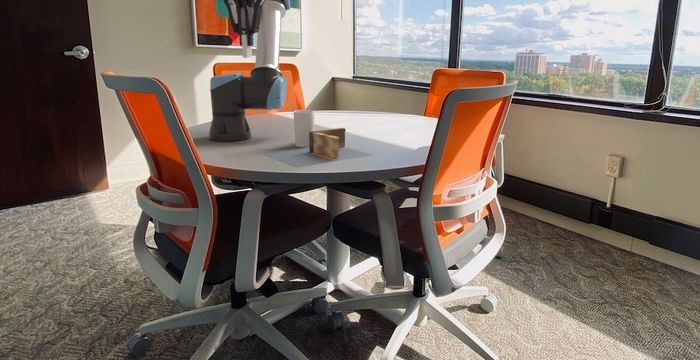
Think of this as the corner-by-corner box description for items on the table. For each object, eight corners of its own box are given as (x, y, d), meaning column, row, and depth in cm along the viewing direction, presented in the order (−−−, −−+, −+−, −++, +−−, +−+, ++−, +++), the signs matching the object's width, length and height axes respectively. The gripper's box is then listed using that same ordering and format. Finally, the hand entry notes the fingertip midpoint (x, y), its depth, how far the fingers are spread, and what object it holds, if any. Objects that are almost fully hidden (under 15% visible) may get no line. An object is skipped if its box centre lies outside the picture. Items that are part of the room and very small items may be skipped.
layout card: (262, 155, 144) (262, 153, 143) (334, 144, 159) (334, 143, 159) (296, 169, 127) (296, 167, 127) (372, 156, 143) (372, 154, 143)
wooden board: (312, 152, 144) (312, 132, 143) (317, 151, 145) (317, 132, 144) (334, 158, 136) (334, 137, 135) (339, 157, 138) (339, 137, 136)
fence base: (308, 151, 146) (307, 131, 144) (342, 146, 154) (342, 127, 152) (311, 152, 145) (311, 132, 143) (345, 147, 152) (345, 128, 150)
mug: (316, 148, 154) (315, 112, 150) (295, 149, 152) (294, 112, 149) (311, 142, 163) (311, 108, 160) (292, 143, 162) (291, 108, 158)
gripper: (215, -29, 131) (221, 57, 138) (255, -31, 127) (259, 58, 133) (231, -25, 138) (236, 57, 144) (269, -27, 133) (272, 57, 140)
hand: (247, 57), depth 139 cm, fingers closed
